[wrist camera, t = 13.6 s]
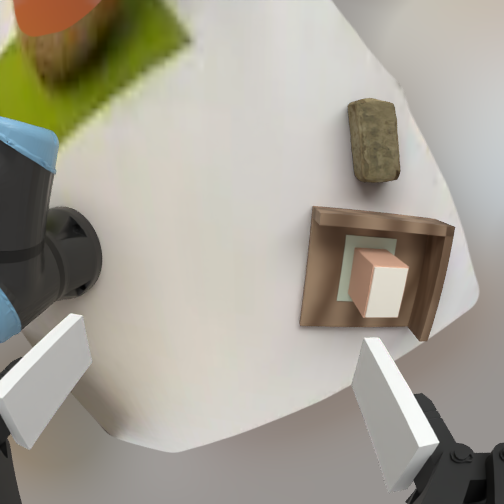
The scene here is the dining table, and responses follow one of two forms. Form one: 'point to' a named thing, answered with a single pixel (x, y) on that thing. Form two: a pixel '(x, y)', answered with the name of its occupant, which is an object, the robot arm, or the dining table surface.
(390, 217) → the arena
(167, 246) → the dining table surface
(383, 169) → the stone block
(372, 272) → the terracotta block
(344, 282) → the sage pad
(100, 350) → the dining table surface
